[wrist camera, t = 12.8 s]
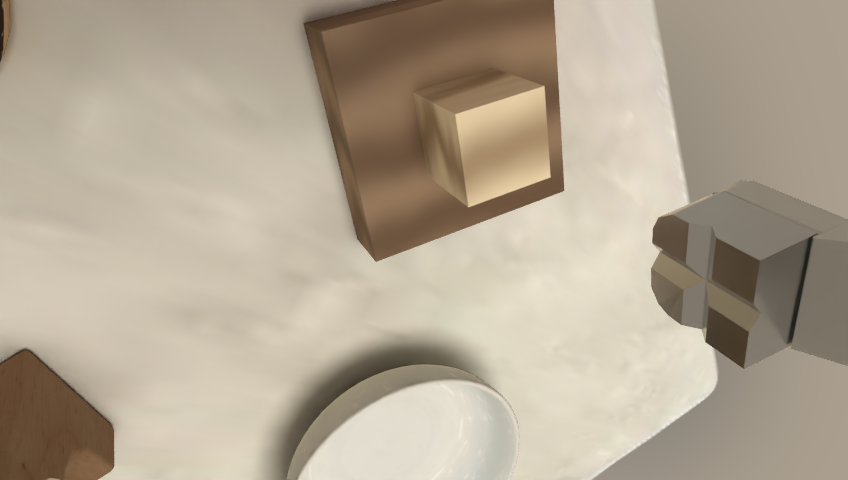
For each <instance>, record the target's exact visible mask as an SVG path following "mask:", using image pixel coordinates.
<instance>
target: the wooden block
mask: <svg viewBox="0 0 848 480" xmlns="http://www.w3.org/2000/svg"><path fill="white" fill-rule="evenodd" d="M113 468H114V429H113V427H112V426H111V425H110V424H109V423H108V422H107V421H106V420H105V419H104V418H103V417H102V416H100V415H99V414H98V413H97V412H96V411H95V410H94V409H93V408H92V407H90V406H89V405H88V404H87V403H86V402H85V401H84V400H83V399H82V398H80V397H79V396H78V395H77V394H76V393H75V392H74V391H73V390H72V389H70V388H69V387H68V386H67V385H66V384H65V383H64V382H63V381H62V380H61V379H59V378H58V377H57V376H56V375H55V374H54V373H53V372H52V371H51V370H49V369H48V368H47V367H46V366H45V365H44V364H43V363H42V362H41V361H39V360H38V359H37V358H36V357H35V356H34V355H33V354H32V353H31V352H29V351H27V350H25V351H22V352H20V353H19V354H17V355H15V356H14V357H12V358H10V359H9V360H7V361H5V362H4V363H2V364H0V480H46V479H48V478H54V479H60V480H98V479H100V478H101V477H103V476H104V475H106V474H107V473H109V472H110V471H111V470H112V469H113Z"/></svg>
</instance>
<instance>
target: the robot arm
mask: <svg viewBox="0 0 848 480" xmlns="http://www.w3.org/2000/svg"><path fill="white" fill-rule="evenodd" d="M652 243H653V244H654V246H655V247H656V248H657V249H658V250H659V251H660V253H659V255H658V257H657V259H656V260H655V262H654V264H653V266H652V268H651V287H652V290H653V292H654V294H655V296H656V299H657V301H658V303H659V305H660V306H661V307H662V308H663V310H664V311H665V312H666V313H667V314H668V315H669V316H670V317H671V318H673V319H674V320H675V321H677V322H678V323H680V324H681V325H685V326H689V327H694V328H699V329H702V332H703V336H704V339H705V342H706V343H708V344H709V345H710V346H712V347H713V348H715V349H716V350H718V351H719V352H720V353H722V354H723V355H725V356H726V357H727V358H729V359H730V360H732V361H733V362H735V363H736V364H737V365H739V366H740V367H742V368H743V369H745V368H747V367H748V366H751V365H752V364H755V363H757V362H759V361H761V360H763V359H764V358H766V357H769V356H770V355H773V354H774V353H777V352H779V351H780V350H783V349H784V348H786V347H788V346H790V345H792V346H791V349H794V350H797V351H801V352H804V353H808V354H810V355H814V356H817V357H820V358H824V359H827V360H830V361H834V362H837V363H840V364H844V365H847V366H848V219H845V218H843V217H840V216H838V215H835V214H833V213H830V212H828V211H826V210H823V209H821V208H818V207H816V206H814V205H811V204H809V203H806V202H804V201H801V200H799V199H796V198H794V197H792V196H789V195H786V194H784V193H782V192H779V191H776V190H774V189H772V188H770V187H767V186H765V185H762V184H760V183H757V182H755V181H742V180H741V181H738V182H736V183H734V184H731V185H729V186H727V187H725V188H723V189H720V190H718V191H716V192H714V193H713V194H712V195H709V196H707V197H704V198H702V199H700V200H697V201H695V202H693V203H691V204H688V205H686V206H684V207H681V208H679V209H677V210H675V211H672V212H670V213H668V214H665V215H663V216H661V217H659V218H658V220H657V222H656V224H655V226H654V228H653V240H652ZM46 480H60V479H54V478H48V479H46Z"/></svg>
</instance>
